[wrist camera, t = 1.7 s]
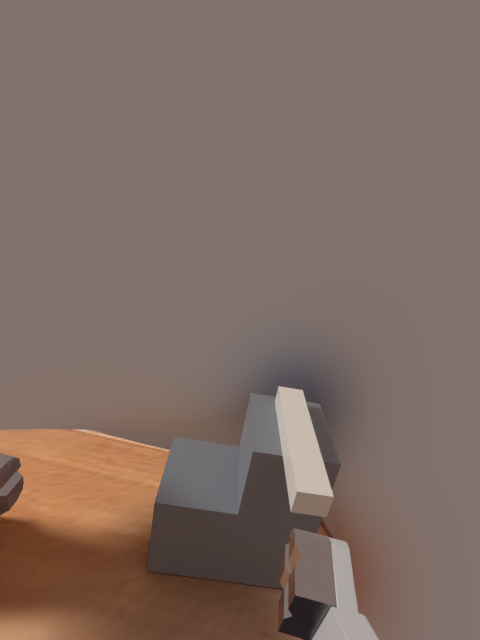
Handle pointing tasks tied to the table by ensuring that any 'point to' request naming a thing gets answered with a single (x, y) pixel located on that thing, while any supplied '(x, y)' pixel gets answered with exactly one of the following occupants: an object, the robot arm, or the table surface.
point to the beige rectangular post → (301, 456)
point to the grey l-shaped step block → (232, 502)
